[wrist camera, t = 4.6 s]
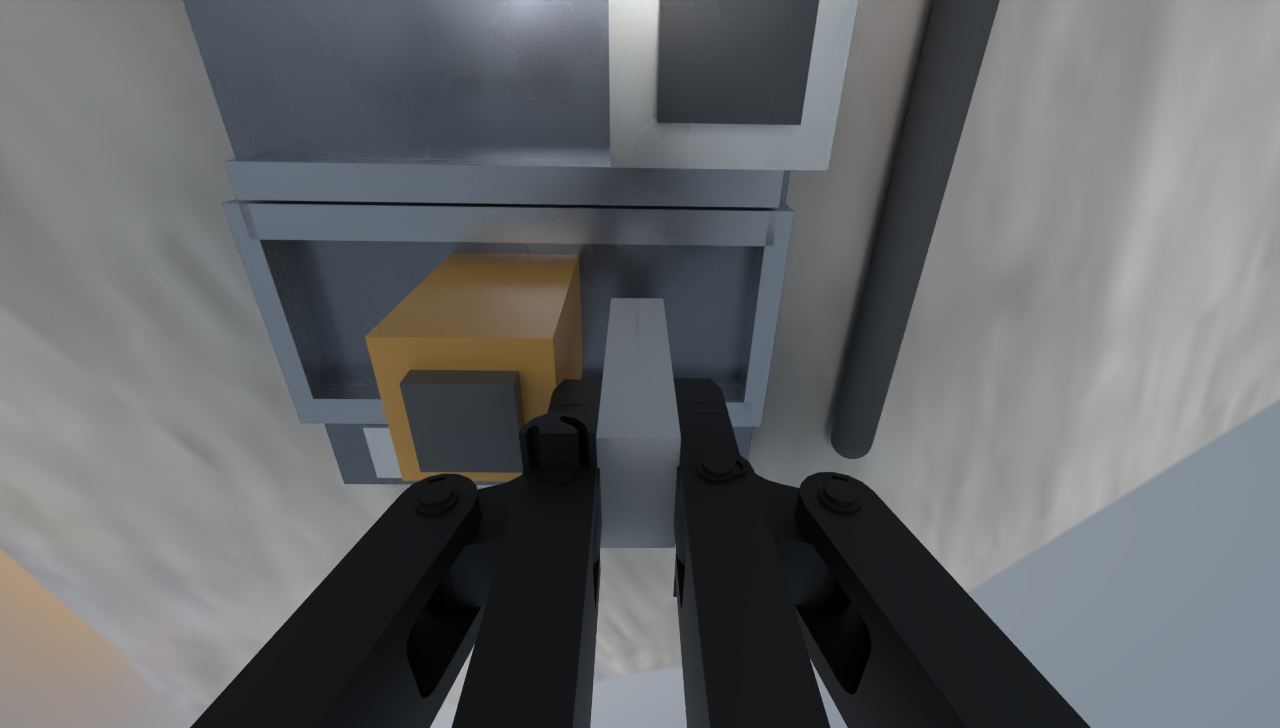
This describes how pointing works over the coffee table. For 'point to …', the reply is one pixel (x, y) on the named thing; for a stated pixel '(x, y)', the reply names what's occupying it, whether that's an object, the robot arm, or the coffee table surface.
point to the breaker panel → (518, 170)
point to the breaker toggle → (476, 360)
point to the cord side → (911, 211)
